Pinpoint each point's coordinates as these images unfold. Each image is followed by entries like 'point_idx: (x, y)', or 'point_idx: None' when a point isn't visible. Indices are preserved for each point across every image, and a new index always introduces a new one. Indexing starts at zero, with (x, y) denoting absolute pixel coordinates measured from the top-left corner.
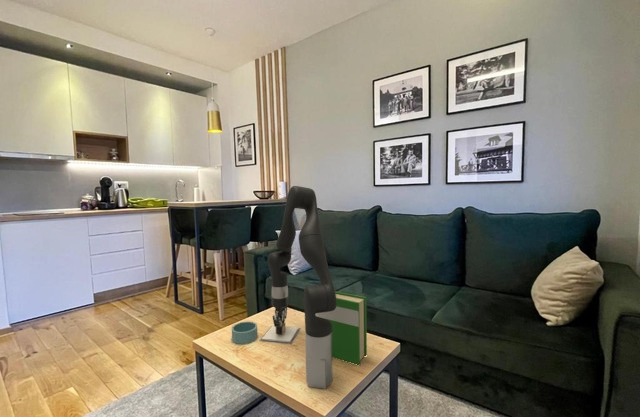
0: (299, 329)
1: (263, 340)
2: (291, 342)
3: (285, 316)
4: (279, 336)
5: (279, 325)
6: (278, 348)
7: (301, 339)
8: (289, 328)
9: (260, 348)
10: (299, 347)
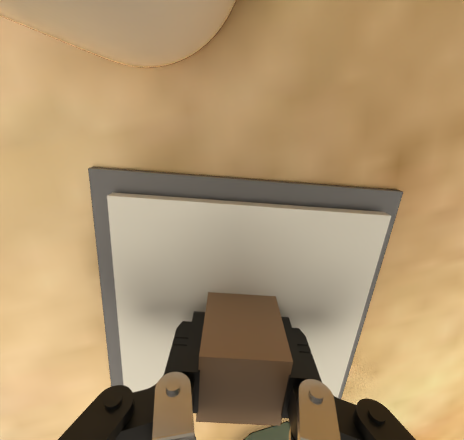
0: (117, 178)
1: None
2: (372, 200)
3: (118, 426)
4: (304, 316)
5: (392, 423)
6: (434, 276)
7: (297, 119)
8: (146, 272)
9: (415, 376)
10: (446, 109)
